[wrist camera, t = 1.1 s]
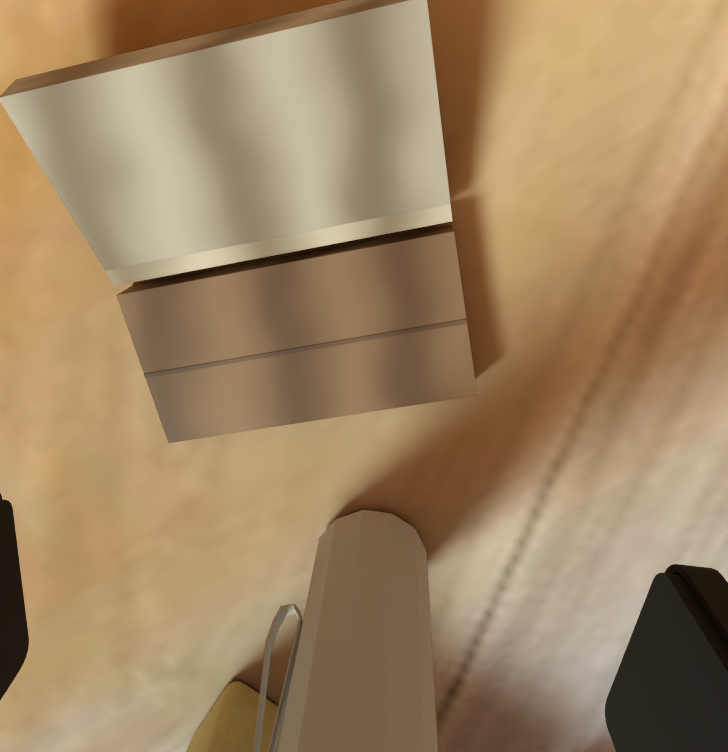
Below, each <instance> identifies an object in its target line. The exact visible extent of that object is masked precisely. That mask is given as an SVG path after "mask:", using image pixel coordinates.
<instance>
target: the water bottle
mask: <svg viewBox="0 0 728 752" xmlns="http://www.w3.org/2000/svg"><path fill="white" fill-rule="evenodd" d="M293 614H296V616H297V618H298V624H297V628H296V633H295V637H294V641H293V646H292V650H291V654H290V658H289V663H288V667H287V671H286V675H285V680H284V684H283V688H282V692H281V697H280V701H279V705H278V709H277V714H276V718H275V722H274V726H273V731H272V735H271V739H270V744H269V748H268V752H275V751H276V747H277V743H278V739H279V734H280V730H281V726H282V722H283V726H282V731H281V736H280V741H279V746H278V751H277V752H438V740H437V723H436V706H435V689H434V672H433V655H432V638H431V621H430V604H429V587H428V570H427V552H426V549H425V547H424V545H423V543H422V541H421V539H420V537H419V535H418V533H417V531H416V529H415V528H414V527H412V526H410V525H409V524H407V523H406V522H404V521H403V520H401V519H400V518H398V517H397V516H395V515H393V514H392V513H385V512H377V511H370V510H361V511H358V512H355V513H352V514H350V515H347V516H344V517H341V518H338V519H336V520H335V521H334V522H333V523H332V524H331V525H330V527H329V528H328V529H327V530H326V531H325V532H324V534H323V535H322V536H321V537H320V538H319V543H318V548H317V553H316V558H315V563H314V569H313V574H312V579H311V584H310V589H309V594H308V599H307V604H306V609H305V614H304V619H303V621H302V616H301V613H300V610H299V609H298V608H297V607H296V605H295V604H289V605H284V606H281V607H280V609H279V610H278V612H277V614H276V616H275V617H274V619H273V622H272V625H271V627H270V630H269V633H268V636H267V639H266V644H265V653H264V661H263V670H262V678H261V687H260V695H259V704H258V712H257V721H256V729H255V738H254V746H253V752H260V744H261V735H262V727H263V718H264V709H265V701H266V692H267V684H268V675H269V666H270V658H271V650H272V647H273V644H274V641H275V638H276V635H277V632H278V629H279V627H280V625H281V623H282V622H283V620H284V618H285V617H286V616H289V615H293ZM287 700H288V701H287ZM286 705H287V706H286ZM285 709H286V711H285ZM284 713H285V716H284ZM283 717H284V721H283Z"/></svg>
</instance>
